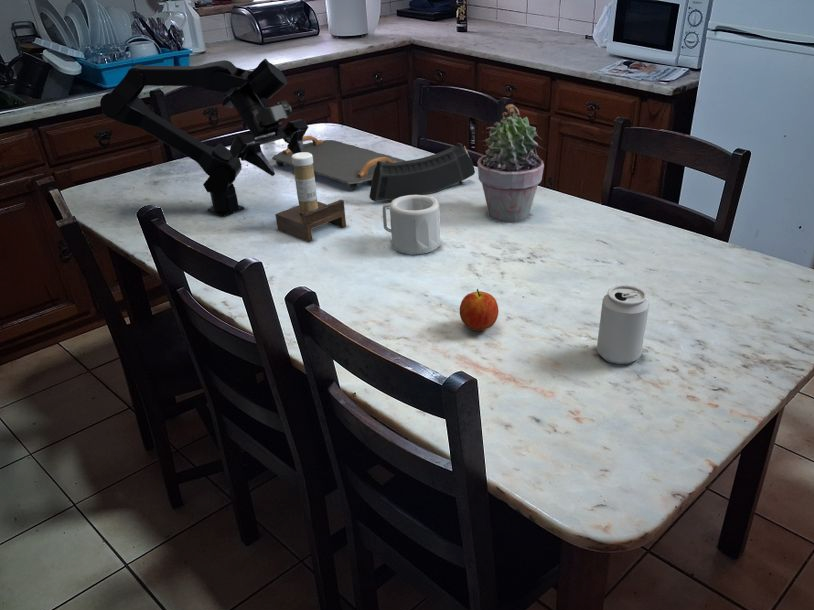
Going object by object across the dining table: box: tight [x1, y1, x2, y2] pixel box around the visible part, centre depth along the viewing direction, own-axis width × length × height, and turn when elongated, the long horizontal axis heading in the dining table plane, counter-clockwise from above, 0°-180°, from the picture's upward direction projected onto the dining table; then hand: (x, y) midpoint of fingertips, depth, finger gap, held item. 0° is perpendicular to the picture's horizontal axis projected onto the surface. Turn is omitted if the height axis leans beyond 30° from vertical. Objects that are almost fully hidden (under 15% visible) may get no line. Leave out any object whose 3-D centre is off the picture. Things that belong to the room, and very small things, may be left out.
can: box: [596, 284, 650, 365], centre depth 116 cm, size 8×8×12 cm
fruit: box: [459, 288, 499, 332], centre depth 125 cm, size 7×7×8 cm
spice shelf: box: [274, 199, 347, 243], centre depth 163 cm, size 11×12×6 cm
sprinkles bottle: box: [292, 152, 318, 214], centre depth 159 cm, size 5×5×13 cm
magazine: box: [368, 142, 476, 202], centre depth 181 cm, size 17×3×30 cm
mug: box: [382, 195, 441, 255], centre depth 154 cm, size 14×11×10 cm
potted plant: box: [477, 103, 548, 224], centre depth 164 cm, size 18×20×25 cm
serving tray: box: [271, 135, 406, 192], centre depth 198 cm, size 39×23×6 cm, turn 51°
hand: (290, 169), depth 160 cm, fingers open, 9 cm apart
